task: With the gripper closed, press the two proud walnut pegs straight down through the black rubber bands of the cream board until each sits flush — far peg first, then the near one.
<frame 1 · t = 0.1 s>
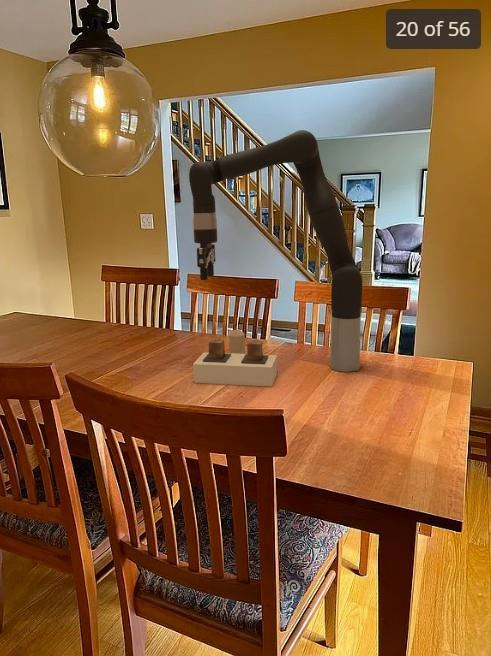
hand: (207, 277, 162), 29 cm above the table, fingers open, 8 cm apart
socket board: (236, 377, 154), on the table
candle: (237, 358, 173), on the table
peg a: (216, 351, 153), point 8 cm above the table, slide at 5.0 cm
peg b: (254, 352, 150), point 8 cm above the table, slide at 5.0 cm
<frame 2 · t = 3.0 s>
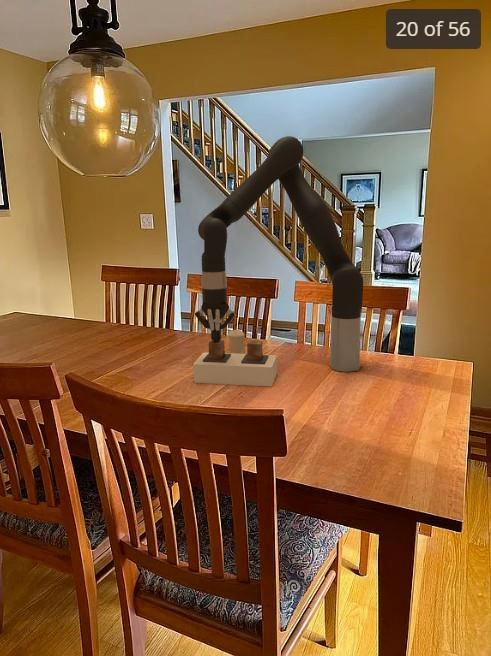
hand: (216, 341, 152), 12 cm above the table, fingers closed
peg a: (216, 351, 153), point 8 cm above the table, slide at 4.8 cm, touching gripper
everything else where it was.
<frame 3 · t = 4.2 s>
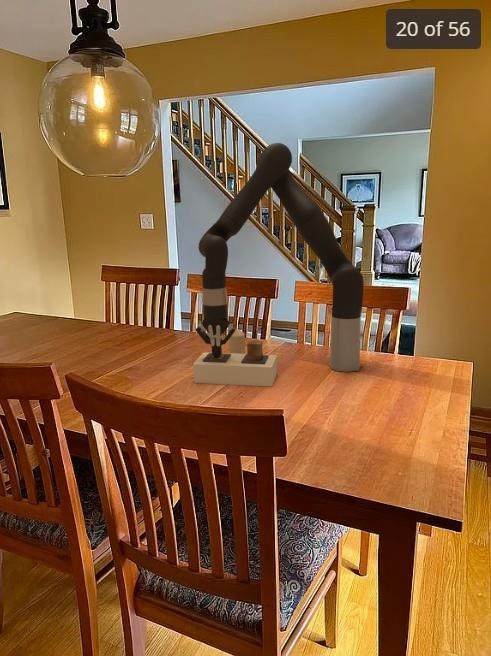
hand: (216, 356, 153), 7 cm above the table, fingers closed
peg a: (217, 366, 154), point 3 cm above the table, slide at -0.1 cm, touching gripper
everything else where it was.
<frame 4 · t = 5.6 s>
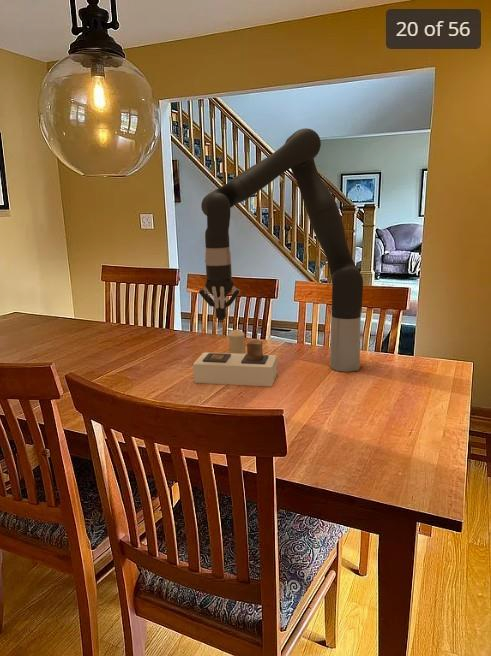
hand: (221, 319, 150), 18 cm above the table, fingers closed
peg a: (217, 366, 154), point 3 cm above the table, slide at -0.1 cm
everything else where it was.
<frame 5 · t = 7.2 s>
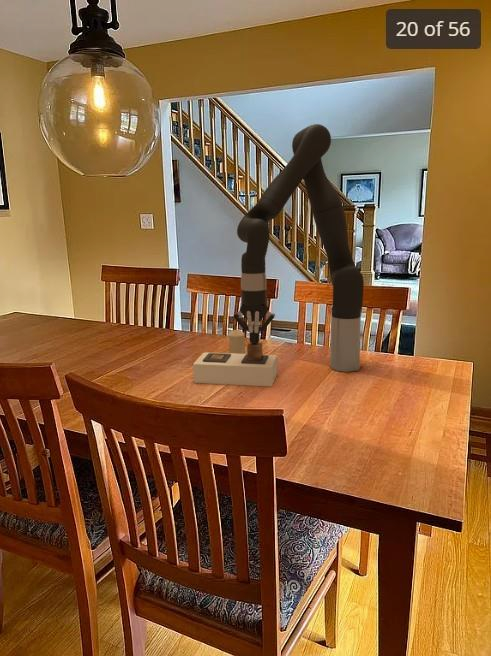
hand: (254, 343, 150), 11 cm above the table, fingers closed
peg b: (255, 354, 151), point 8 cm above the table, slide at 4.4 cm, touching gripper
everything else where it was.
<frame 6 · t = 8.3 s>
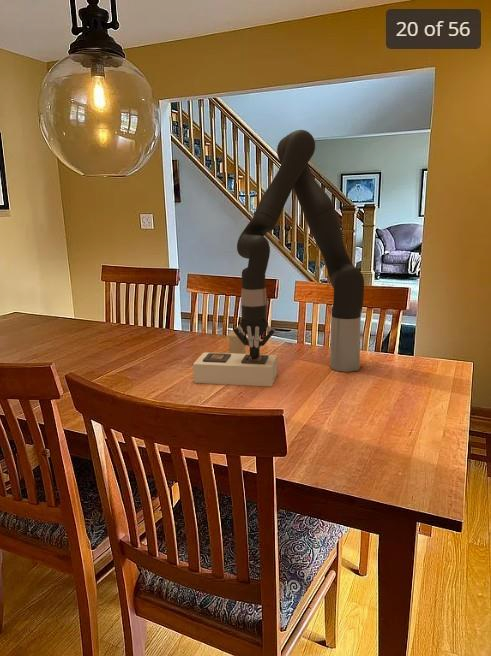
hand: (254, 358, 151), 7 cm above the table, fingers closed
peg b: (255, 368, 152), point 3 cm above the table, slide at -0.1 cm, touching gripper
everything else where it was.
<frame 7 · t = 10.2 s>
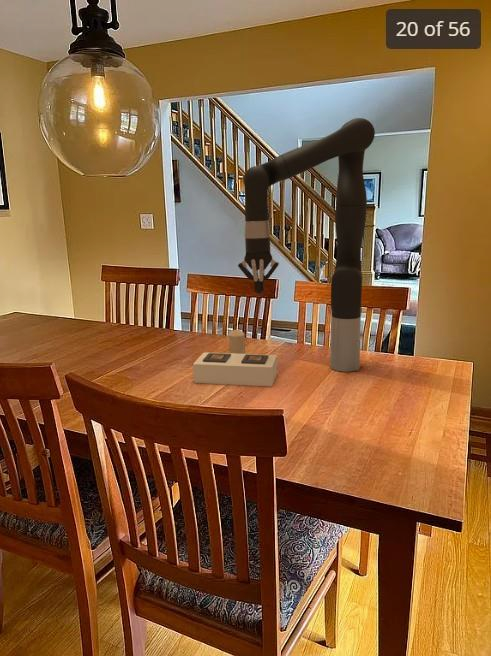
hand: (259, 292, 153), 26 cm above the table, fingers closed
peg b: (255, 368, 152), point 3 cm above the table, slide at -0.1 cm
everything else where it was.
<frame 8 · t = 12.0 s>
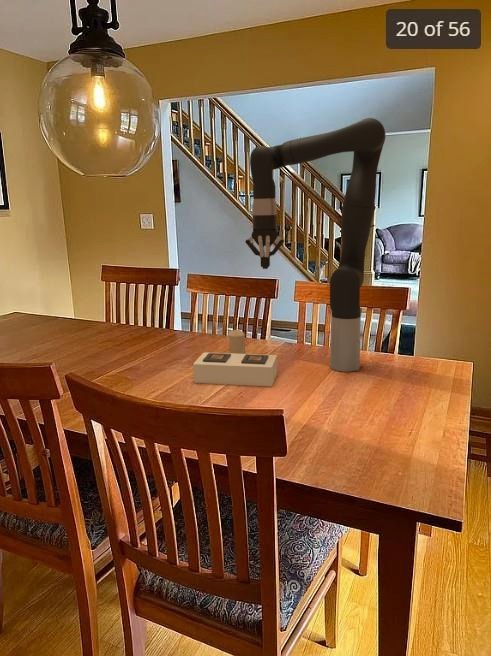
hand: (265, 268, 160), 32 cm above the table, fingers closed
nothing on the table moved.
at the end: peg a slide at -0.1 cm; peg b slide at -0.1 cm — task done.
